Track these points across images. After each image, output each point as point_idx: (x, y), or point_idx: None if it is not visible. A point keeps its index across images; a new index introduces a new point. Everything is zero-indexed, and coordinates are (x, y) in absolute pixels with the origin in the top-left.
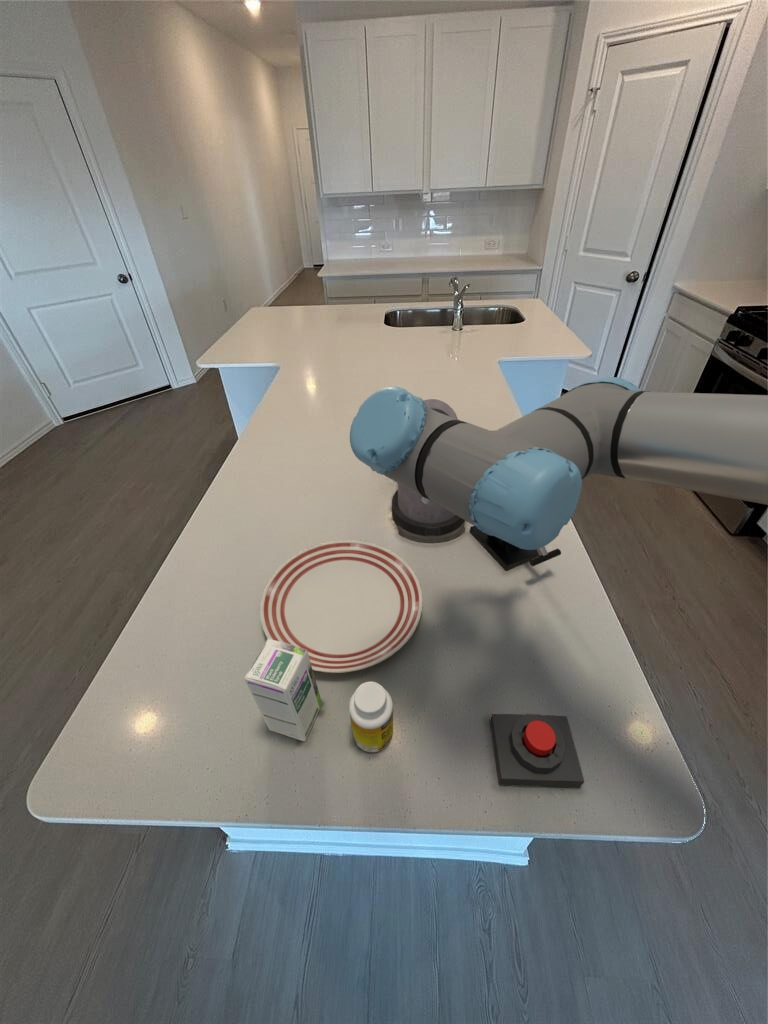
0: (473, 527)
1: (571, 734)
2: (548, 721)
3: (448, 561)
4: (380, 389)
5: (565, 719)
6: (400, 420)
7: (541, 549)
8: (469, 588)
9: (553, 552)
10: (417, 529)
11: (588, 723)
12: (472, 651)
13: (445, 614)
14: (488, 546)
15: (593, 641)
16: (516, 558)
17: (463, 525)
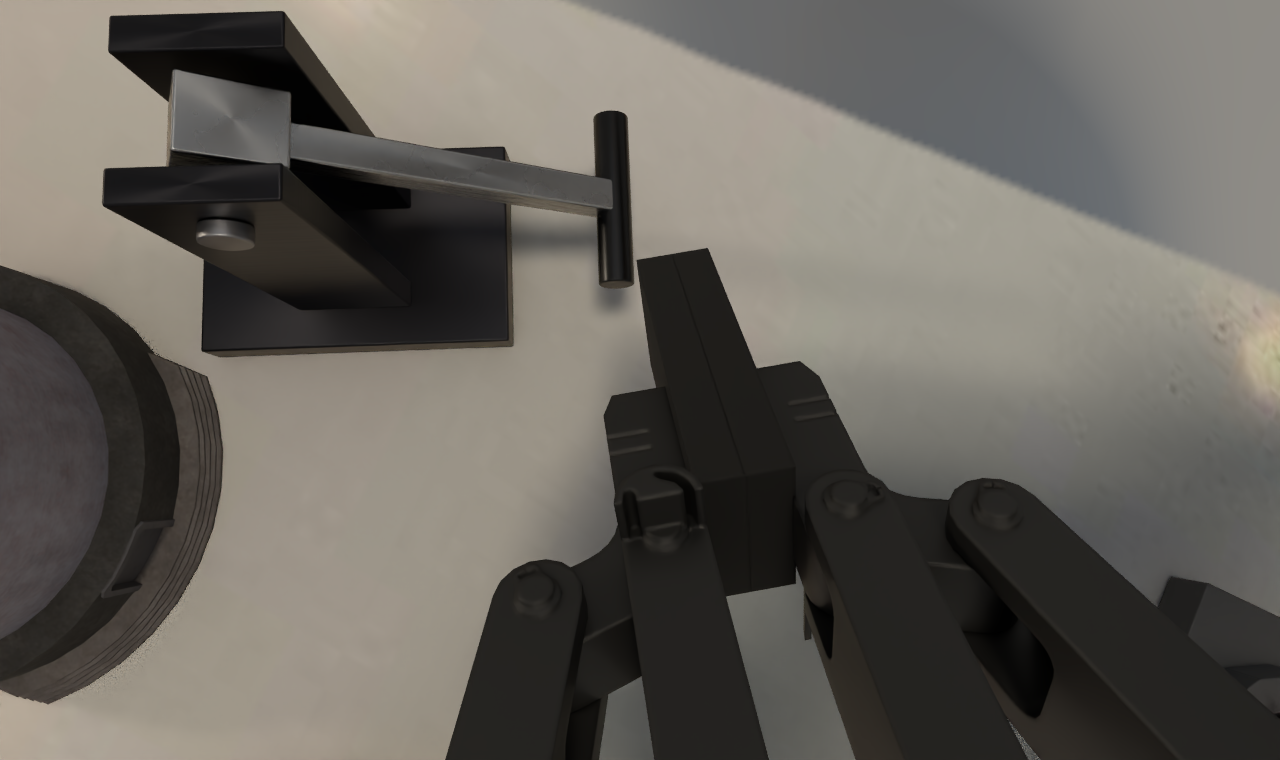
0: (212, 339)
1: (1270, 613)
2: (1256, 695)
3: (342, 556)
4: None
5: (1218, 596)
6: None
7: (582, 197)
8: (527, 553)
9: (614, 150)
10: (84, 628)
11: (1199, 495)
12: (809, 717)
13: (606, 729)
14: (362, 346)
15: (950, 255)
16: (488, 272)
17: (167, 366)
